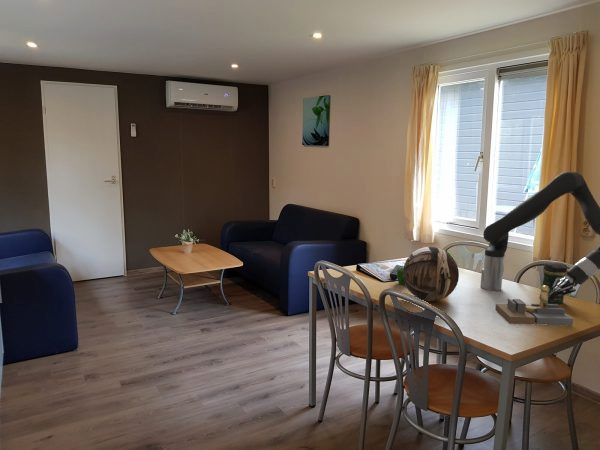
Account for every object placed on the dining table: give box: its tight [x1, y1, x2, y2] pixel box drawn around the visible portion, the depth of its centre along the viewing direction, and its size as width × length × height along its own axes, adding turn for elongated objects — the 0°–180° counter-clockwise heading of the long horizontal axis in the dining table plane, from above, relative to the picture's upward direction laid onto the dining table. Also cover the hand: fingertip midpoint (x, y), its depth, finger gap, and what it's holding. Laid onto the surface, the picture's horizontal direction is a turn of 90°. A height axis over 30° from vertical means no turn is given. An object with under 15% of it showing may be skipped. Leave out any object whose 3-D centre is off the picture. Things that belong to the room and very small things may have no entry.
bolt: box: [525, 285, 550, 312], centre depth 196 cm, size 9×3×11 cm, turn 87°
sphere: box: [402, 246, 460, 302], centre depth 216 cm, size 25×25×25 cm
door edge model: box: [494, 298, 574, 326], centre depth 197 cm, size 25×16×7 cm, turn 87°
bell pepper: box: [396, 267, 406, 286], centre depth 242 cm, size 8×8×10 cm
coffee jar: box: [539, 262, 568, 304], centre depth 217 cm, size 10×8×19 cm
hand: (548, 298), depth 196 cm, fingers closed
